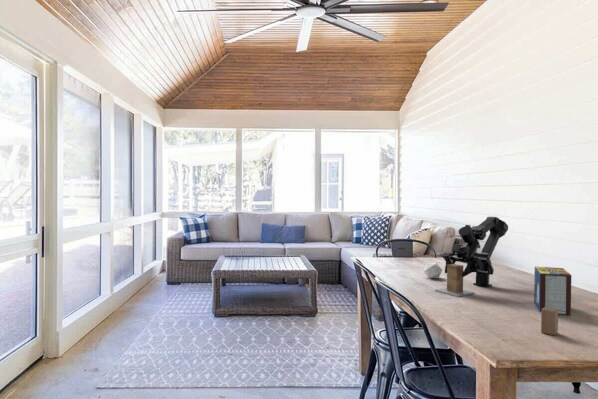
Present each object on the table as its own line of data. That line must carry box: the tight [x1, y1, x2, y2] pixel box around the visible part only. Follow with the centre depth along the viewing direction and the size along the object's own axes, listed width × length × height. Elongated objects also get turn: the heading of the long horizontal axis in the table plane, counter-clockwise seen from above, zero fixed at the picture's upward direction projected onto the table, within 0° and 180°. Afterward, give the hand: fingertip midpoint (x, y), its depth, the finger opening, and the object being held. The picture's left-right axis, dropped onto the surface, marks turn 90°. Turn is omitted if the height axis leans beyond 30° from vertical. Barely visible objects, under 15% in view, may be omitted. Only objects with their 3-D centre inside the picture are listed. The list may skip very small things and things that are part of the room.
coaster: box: [435, 287, 476, 298], centre depth 182 cm, size 12×12×1 cm
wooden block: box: [540, 307, 559, 336], centre depth 129 cm, size 4×4×8 cm
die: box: [423, 262, 443, 279], centre depth 212 cm, size 8×9×10 cm
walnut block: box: [446, 263, 464, 293], centre depth 182 cm, size 5×5×12 cm
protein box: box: [533, 265, 572, 316], centre depth 157 cm, size 10×15×16 cm
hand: (453, 274), depth 181 cm, fingers open, 9 cm apart
